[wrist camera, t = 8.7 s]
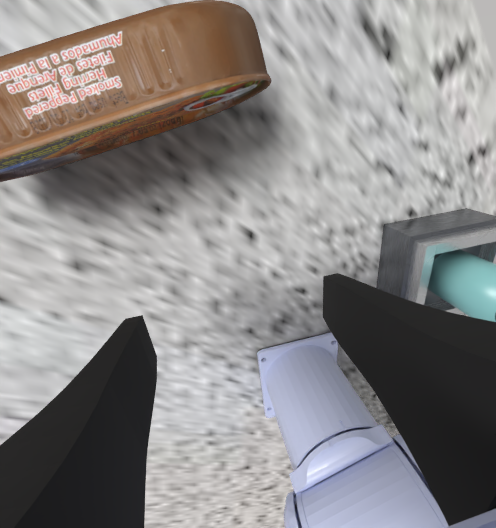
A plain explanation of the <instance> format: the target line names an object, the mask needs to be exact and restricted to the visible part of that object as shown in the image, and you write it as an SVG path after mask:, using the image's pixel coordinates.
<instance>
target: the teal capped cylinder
mask: <svg viewBox="0 0 496 528" xmlns="http://www.w3.org/2000/svg"><path fill="white" fill-rule="evenodd" d="M428 290H429V291H431V292H432V293H434V294H435V295H437V296H439V297H440V298H442V299H443V300H445V301H446V302H448V303H449V304H451V305H453V306H454V307H456V308H457V309H459V310H460V311H462V312H464V313H465V314H467V315H468V316H470V317H473V318H478V319H483V320H488V321H493V322H496V264H494V263H492V262H489V261H487V260H484V259H482V258H480V257H477V256H475V255H473V254H470V253H468V252H466V251H463V250H460V249H459V250H454V251H449V252H445V253H443V254H441V255H440V256H438V257H437V258H436V259H435V260H434V261H433V265H432V270H431V275H430V279H429V284H428Z"/></svg>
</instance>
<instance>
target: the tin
mask: <svg viewBox="0 0 496 528" xmlns="http://www.w3.org/2000/svg"><path fill="white" fill-rule="evenodd" d="M270 83H271V78H270V76H269V75H268V74H267V70H266V66H265V62H264V57H263V53H262V48H261V44H260V40H259V36H258V32H257V29H256V26H255V23H254V20H253V19H252V17H251V15H250V14H249V13H248V12H247V11H246V10H245V9H244V8H242V7H240V6H239V5H236V4H232V3H229V2H224V1H215V0H204V1H193V2H185V3H179V4H173V5H168V6H164V7H160V8H156V9H153V10H149V11H146V12H143V13H139V14H136V15H132V16H129V17H126V18H123V19H119V20H116V21H112V22H109V23H106V24H102V25H99V26H96V27H93V28H90V29H87V30H84V31H80V32H77V33H74V34H70V35H67V36H64V37H60V38H57V39H54V40H51V41H48V42H45V43H42V44H39V45H35V46H32V47H29V48H26V49H22V50H19V51H16V52H14V53H10V54H7V55H4V56H1V57H0V182H2V181H7V180H12V179H16V178H21V177H25V176H29V175H33V174H37V173H40V172H44V171H47V170H50V169H54V168H57V167H60V166H63V165H65V164H69V163H72V162H75V161H79V160H82V159H85V158H88V157H91V156H93V155H97V154H100V153H103V152H105V151H108V150H111V149H114V148H117V147H120V146H123V145H126V144H129V143H132V142H135V141H138V140H141V139H144V138H147V137H150V136H153V135H156V134H159V133H162V132H165V131H168V130H171V129H174V128H177V127H180V126H183V125H186V124H189V123H192V122H194V121H198V120H200V119H203V118H205V117H207V116H210V115H213V114H216V113H218V112H221V111H223V110H226V109H228V108H230V107H233V106H234V105H237V104H239V103H241V102H243V101H245V100H247V99H249V98H251V97H252V96H254V95H256V94H257V93H259V92H261V91H263V90H264V89H266V88H267V87H268V86H269V85H270Z"/></svg>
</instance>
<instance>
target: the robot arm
mask: <svg viewBox="0 0 496 528" xmlns="http://www.w3.org/2000/svg"><path fill="white" fill-rule="evenodd" d="M323 318H324V320H325V322H326V323H327V325H328V327H329V329H330V331H331V333H327V334H323V335H319V336H315V337H311V338H307V339H303V340H298V341H294V342H290V343H286V344H282V345H278V346H274V347H270V348H266V349H262V350H260V351H258V353H257V357H258V365H259V373H260V380H261V388H262V396H263V403H264V411H265V416H266V417H267V418H272V417H275V416H276V419H277V422H278V425H279V428H280V431H281V434H282V437H283V440H284V443H285V446H286V449H287V452H288V455H289V458H290V461H291V465H292V468H293V470H294V471H293V472H291V473H290V474H289V476H290V479H291V482H292V485H293V488H294V491H292V492H290V493H289V494H288V495H287V497H286V505H285V509H284V523H285V528H496V322H493V321H488V320H483V319H478V318H473V317H468V316H464V315H459V314H455V313H451V312H447V311H443V310H440V309H436V308H432V307H429V306H425V305H422V304H419V303H416V302H413V301H410V300H407V299H404V298H401V297H398V296H395V295H393V294H390V293H387V292H385V291H382V290H379V289H377V288H374V287H372V286H369V285H367V284H364V283H362V282H360V281H357V280H355V279H352V278H349V277H347V276H344V275H341V274H338V273H337V274H333V275H328V276H324V280H323ZM333 340H334V341H333ZM338 343H339V344H340V346H341V347H342V348H343V350H344V351H345V352H346V354H347V355H348V356H349V358H350V359H351V360H352V362H353V363H354V364H355V365H356V367H357V368H358V369H359V371H360V372H361V373H362V375H363V376H364V377H365V379H366V380H367V381H368V383H369V384H370V386H371V387H372V388H373V390H374V391H375V393H376V394H377V396H378V398H379V399H380V401H381V403H382V404H383V406H384V407H385V409H386V411H387V412H388V414H389V416H390V417H391V419H392V421H393V422H394V424H395V426H396V428H397V429H398V431H399V433H400V434H398V435H396V436H394V437H393V439H392V438H391V437H390V435H389V434H388V432H387V431H386V429H385V428H384V426H383V425H382V424H380V425H378V424H377V422H376V421H375V419H374V418H373V416H372V415H371V413H370V412H369V410H368V409H367V407H366V406H365V404H364V403H363V402H362V400H361V399H360V397H359V396H358V394H357V393H356V391H355V390H354V388H353V387H352V385H351V384H350V382H349V381H348V379H347V378H346V376H345V375H344V373H343V372H342V370H341V369H340V367H339V366H338V364H337V353H338ZM263 358H264V359H263ZM156 382H157V356H156V353H155V350H154V347H153V344H152V341H151V339H150V336H149V333H148V330H147V327H146V324H145V322H144V319H143V316H137V317H132V318H128V319H125V320H124V321H123V322H122V323H121V325H120V326H119V327H118V328H117V329H116V331H115V332H114V333H113V334H112V336H111V337H110V338H109V339H108V340H107V342H106V343H105V344H104V345H103V346H102V348H101V349H100V350H99V351H98V352H97V354H96V355H95V356H94V357H93V358H92V359H91V361H90V362H89V363H88V364H87V365H86V366H85V367H84V368H83V369H82V370H81V371H80V373H79V374H78V375H77V376H76V377H75V378H74V379H73V380H72V381H71V382H70V383H69V384H68V385H67V386H66V387H65V389H64V390H63V391H61V392H60V393H59V394H58V395H57V396H56V397H55V398H54V399H53V400H52V401H51V402H50V403H49V404H48V405H47V406H46V407H45V408H44V409H43V410H41V411H40V412H39V413H38V414H37V415H36V416H35V417H34V418H33V419H31V420H30V421H29V422H28V423H27V424H25V425H24V426H23V427H22V428H21V429H19V430H18V431H17V432H16V433H15V434H13V435H12V436H11V437H10V438H9V439H8V440H6V441H5V442H4V443H3V444H2V445H0V528H144V512H145V481H146V459H147V448H148V439H149V432H150V425H151V418H152V411H153V404H154V397H155V390H156Z"/></svg>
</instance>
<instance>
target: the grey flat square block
mask: <svg viewBox="0 0 496 528" xmlns="http://www.w3.org/2000/svg"><path fill="white" fill-rule="evenodd" d="M459 249H460V250H463V251H466V252H468V253H470V254H473V255H475V256H477V257H480V258H482V259H484V260H487V261H489V262H492V263H494V264H496V216H493V215H489V214H485V213H482V212H478V211H474V210H471V209H462V210H457V211H451V212H446V213H441V214H436V215H431V216H425V217H420V218H415V219H410V220H405V221H399V222H394V223H389V224H384V230H383V238H382V247H381V255H380V264H379V272H378V281H377V289H379V290H382V291H385V292H387V293H390V294H393V295H395V296H398V297H401V298H404V299H407V300H410V301H413V302H416V303H419V304H422V305H425V306H429V307H432V308H436V309H440V310H443V311H447V312H451V313H455V314H463V313H464V312H462V311H460V310H459V309H457V308H456V307H454V306H453V305H451V304H449V303H448V302H446V301H445V300H443V299H442V298H440V297H439V296H437V295H435V294H434V293H432V292H431V291H429V290H428V284H429V279H430V275H431V270H432V265H433V261H434V260H435V259H436V258H437V257H438V256H440V255H441V254H443V253H445V252H449V251H454V250H459Z"/></svg>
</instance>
